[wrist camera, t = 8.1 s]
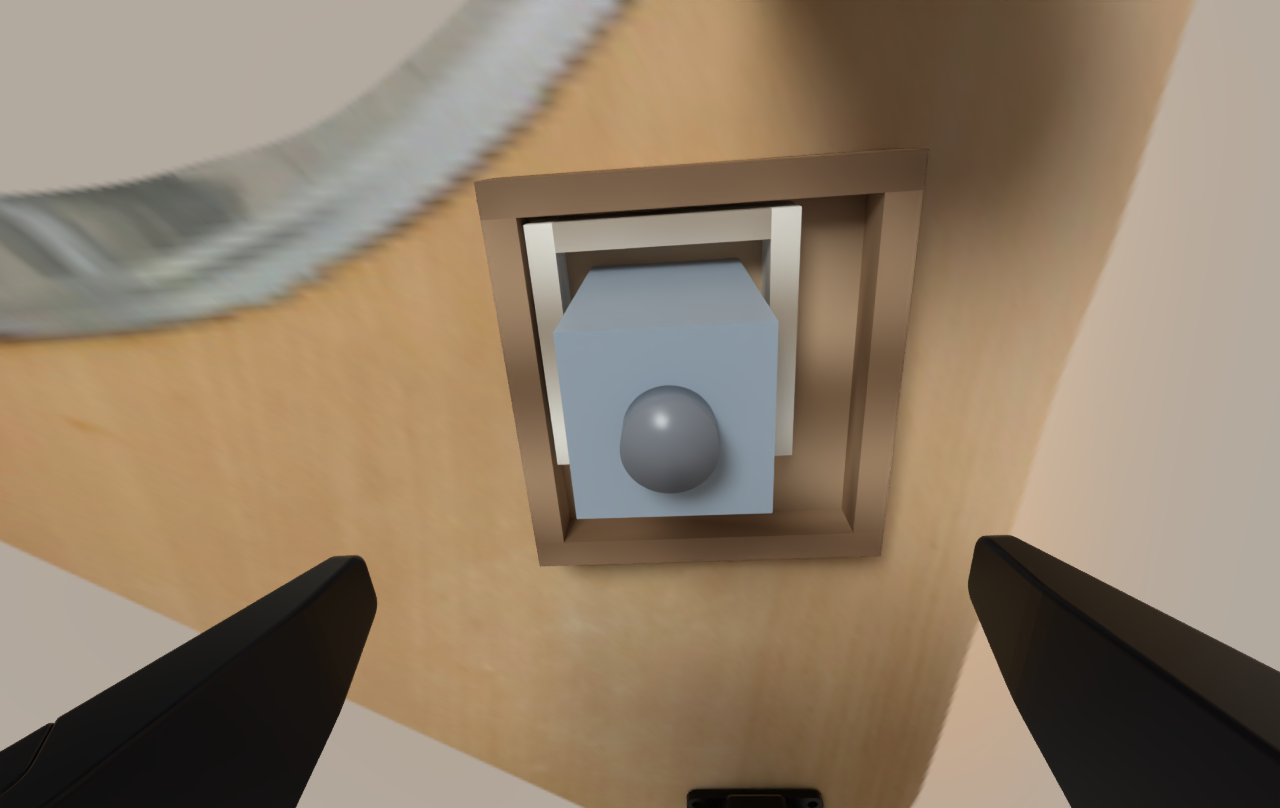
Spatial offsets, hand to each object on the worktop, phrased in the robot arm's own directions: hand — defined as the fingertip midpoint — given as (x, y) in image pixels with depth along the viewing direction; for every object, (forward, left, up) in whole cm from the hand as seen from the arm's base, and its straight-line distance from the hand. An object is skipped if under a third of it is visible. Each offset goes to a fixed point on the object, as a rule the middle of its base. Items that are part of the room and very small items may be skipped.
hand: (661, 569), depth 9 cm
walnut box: (-1, -1, -12) cm, 12 cm away
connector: (0, 0, -11) cm, 11 cm away
